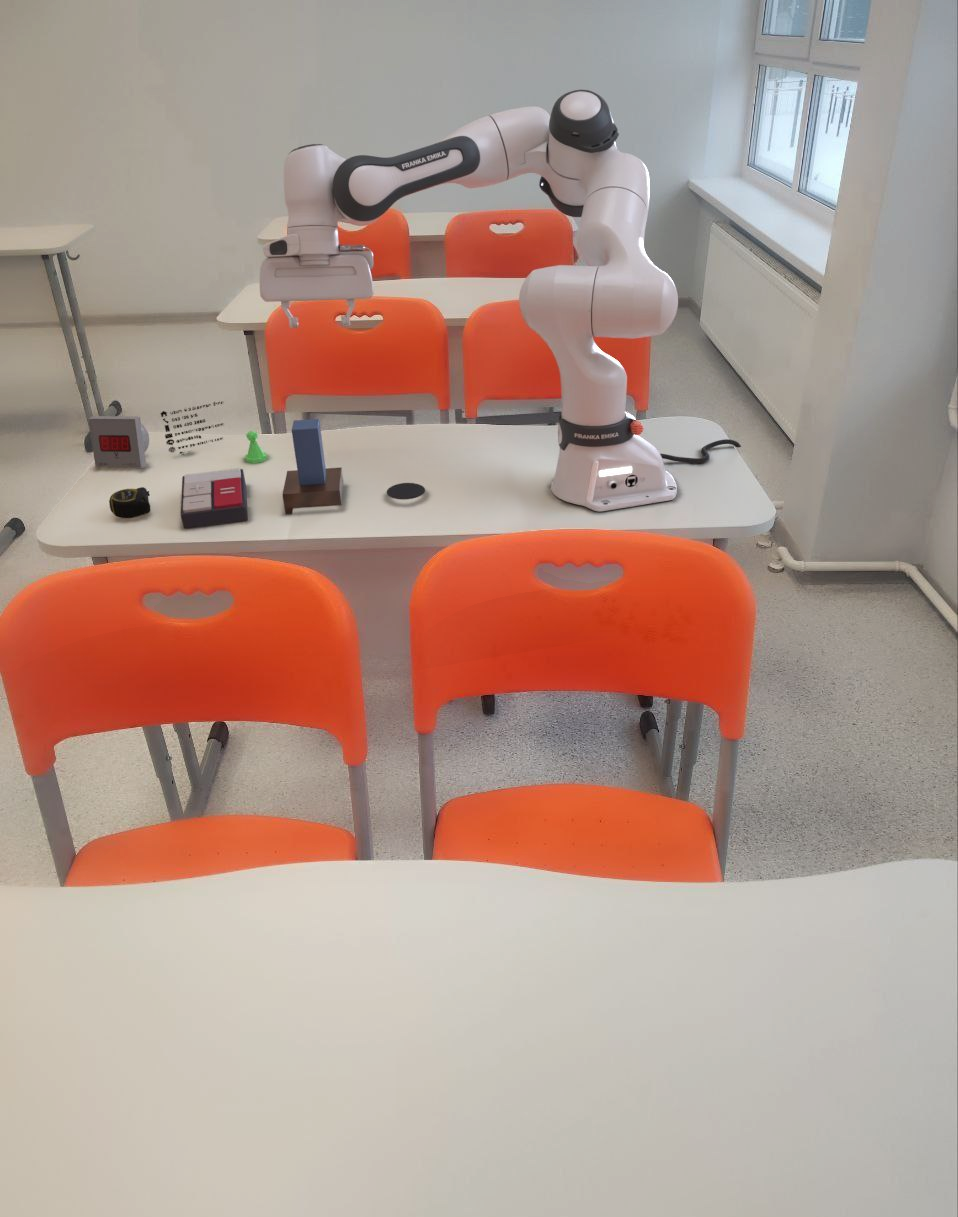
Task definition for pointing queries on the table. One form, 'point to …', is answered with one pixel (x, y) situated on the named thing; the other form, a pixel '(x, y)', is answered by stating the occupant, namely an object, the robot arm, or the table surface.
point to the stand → (313, 491)
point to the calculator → (213, 498)
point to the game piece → (254, 449)
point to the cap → (405, 491)
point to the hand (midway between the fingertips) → (320, 326)
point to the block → (309, 451)
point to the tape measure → (130, 503)
